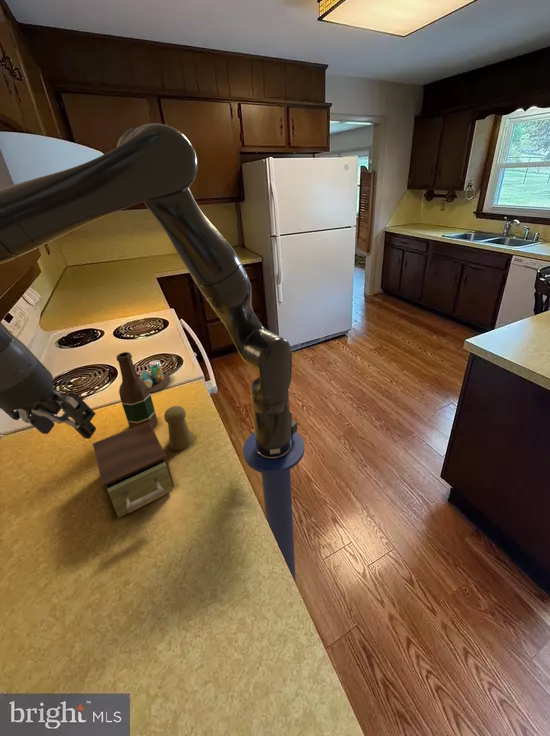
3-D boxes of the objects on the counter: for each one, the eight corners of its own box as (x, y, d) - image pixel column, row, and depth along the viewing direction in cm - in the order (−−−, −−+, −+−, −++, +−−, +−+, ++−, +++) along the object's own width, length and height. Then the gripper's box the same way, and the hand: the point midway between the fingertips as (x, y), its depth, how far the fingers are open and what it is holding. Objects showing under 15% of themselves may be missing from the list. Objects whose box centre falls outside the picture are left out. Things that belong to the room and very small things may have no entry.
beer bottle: (140, 439, 91) (117, 364, 81) (123, 429, 95) (100, 357, 84) (164, 423, 97) (145, 351, 87) (147, 414, 101) (128, 345, 90)
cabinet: (174, 486, 77) (166, 456, 73) (114, 516, 70) (102, 485, 66) (157, 449, 87) (149, 421, 83) (104, 472, 81) (92, 443, 77)
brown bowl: (172, 387, 114) (167, 367, 110) (134, 397, 109) (128, 377, 106) (168, 371, 123) (164, 352, 120) (133, 379, 119) (128, 360, 115)
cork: (192, 431, 93) (185, 400, 89) (193, 446, 88) (186, 413, 83) (169, 437, 91) (161, 405, 87) (169, 452, 86) (161, 419, 82)
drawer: (180, 505, 71) (173, 479, 68) (122, 536, 65) (112, 509, 62) (157, 454, 85) (150, 431, 81) (107, 476, 79) (98, 452, 75)
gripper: (66, 354, 48) (117, 417, 59) (-13, 349, 51) (50, 410, 62) (28, 396, 43) (92, 456, 54) (-59, 388, 45) (19, 447, 56)
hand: (70, 431), depth 58 cm, fingers open, 8 cm apart
